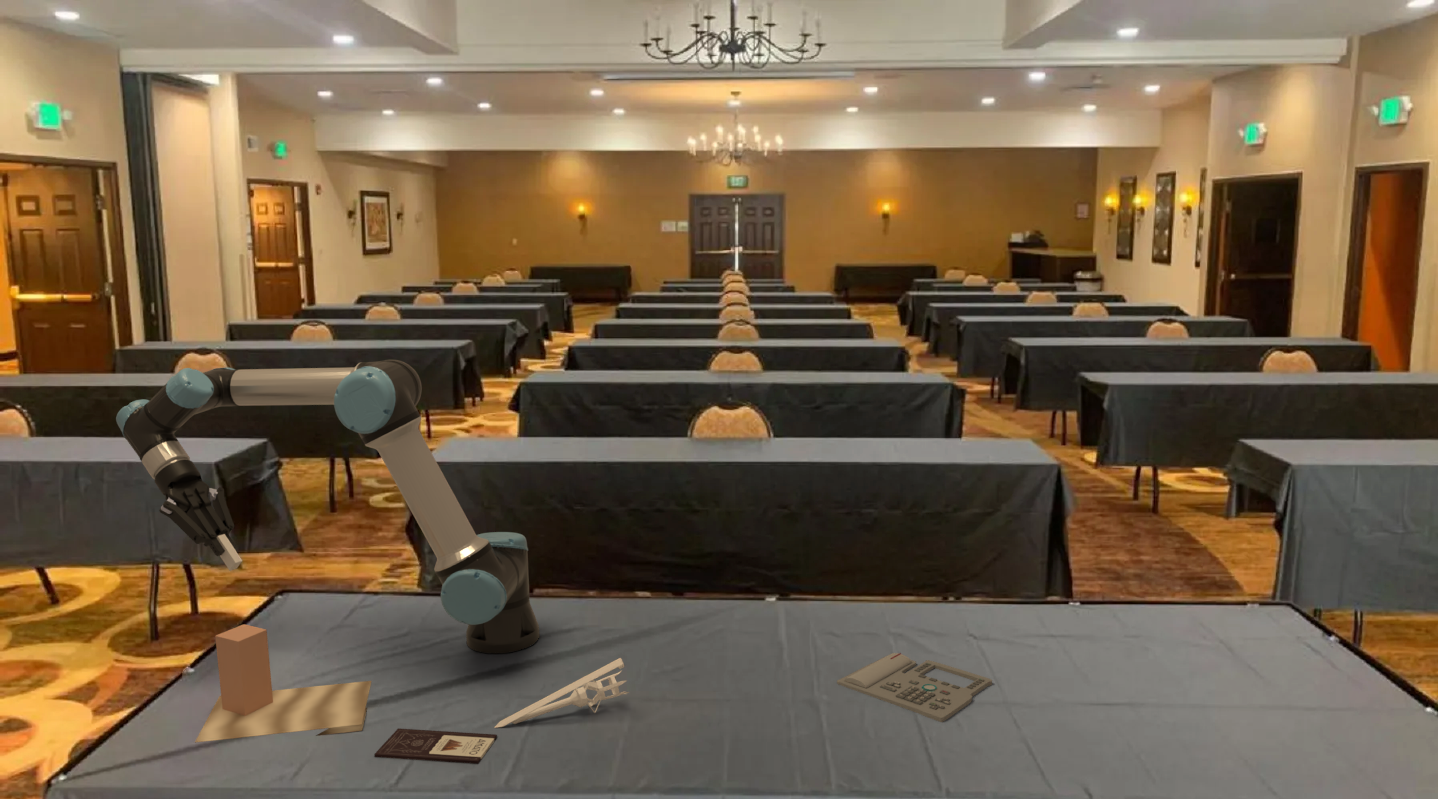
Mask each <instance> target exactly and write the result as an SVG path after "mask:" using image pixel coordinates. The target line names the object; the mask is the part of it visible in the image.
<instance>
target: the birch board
mask: <svg viewBox="0 0 1438 799" xmlns="http://www.w3.org/2000/svg"><path fill="white" fill-rule="evenodd" d="M372 682H373V681H372V680H367V681H366V680H365V681H355V682H347V683H345V682H344V683H337V684H334V683H333V684H326V685H315V686H306V687H305V686H304V687H296V688H295V687H294V688H286V689H275V690H272V695H273V702H272V703H270V704H268V705H266V706H264V707H262V708H260V709H258V710H256V711H254V712H252V713H250V714H248V715H246V716H244V715H241V714H237V713H234V712H231V711H227V710H224V709H222V699H221V695H219V696H218V698H217V700H216V702H215V703H214V706H213V707H212V709H211V711H210V713H209V715H208V717H207V718H206V720H205V723H204V724H203V727H202V728H201V729H200V731H199V733H198V735H197V736H196V738H195V740H194V743H196V744H197V743H203V742H213V741H221V740H232V739H233V740H234V739H242V738H249V737H258V736H260V737H261V736H268V735H277V734H279V735H280V734H285V733H296V732H306V731H313V730H314V731H315V730H323V731H321V732H320V733H318V734H316V735H315V736H327V735H334V734H343V733H344V734H346V733H353V732H362V731H363V729H364V723H365V720H366V716H367V711H368V707H367V703H368V699H369V695H370V690H371V686H372ZM324 729H325V730H324Z"/></svg>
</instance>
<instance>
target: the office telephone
mask: <svg viewBox="0 0 1438 799" xmlns="http://www.w3.org/2000/svg"><path fill="white" fill-rule="evenodd" d="M934 669H936V670H940V671H942V672H946V673H949V674H951V675H955V676H958V677H962V678H965V679H968V680H971V681H973V682H971V683H970V684H968V685H967V686H965V687H963V686H959V685H956V684H952V683H950V682H947V681H943V680H939V679H937V678H934V677H930V676H927V675H925V674H927V673H928V672H930V671H931V670H934ZM836 684H837V685H838V686H842V687H845V688H847V689H850V690H853V691H855V692H858V693H861V694H864V695H866V696H869V697H872V698H875V699H878V700H881V701H883V702H886V703H888V704H892V705H893V706H897V707H900V708H903V709H906V710H907V711H911V712H914V713H916V714H918V715H921V716H923V717H925V718H928V719H932V720H934V721H936V722H940V723H943V722H945V721H947V720H948V719H949V718H951V717H953V716H954V715H956V714H957V713H958V712H959V711H961V710H962V709H964V708H965V707H967V706H968V705H969V704H970V703H972V701H973V697H974V696H976V695H977V694H978V693H979V692H982V691H983V690H984V689H987V688H988V687H989V686H992V685H993V680H992V679H991V678H988V677H986V676H983V675H979V674H976V673H972V672H969V671H967V670H963V669H960V668H957V667H954V666H952V665H951V666H950V665H948V664H947V665H946V664H943V663H941V662H937V661H933V660H930V659H927V660H925V661H923V662H922V663H920V664H919V665H917V661H915V660H912V659H911V658H910V657H908V656H907V655H904V654H902V653H901V652H899V653H897V652H893V653H890V654H887V655H886V656H883V657H881V658H880V659H878V660H876V661H874V662H871V663H869V664H867V665H865V666H863V667H861V668H859V669H857V670H855V671H854V672H851V673H850V674H848V675H846V676H843V677H842V678H839V679H838V680H836Z"/></svg>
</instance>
